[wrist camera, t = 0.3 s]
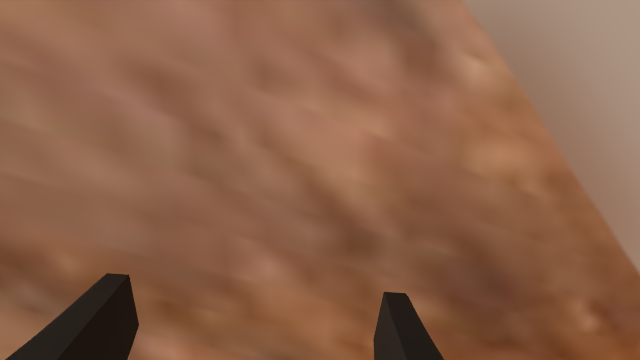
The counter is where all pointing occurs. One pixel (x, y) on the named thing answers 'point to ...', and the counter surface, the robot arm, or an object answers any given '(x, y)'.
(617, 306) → the counter surface
